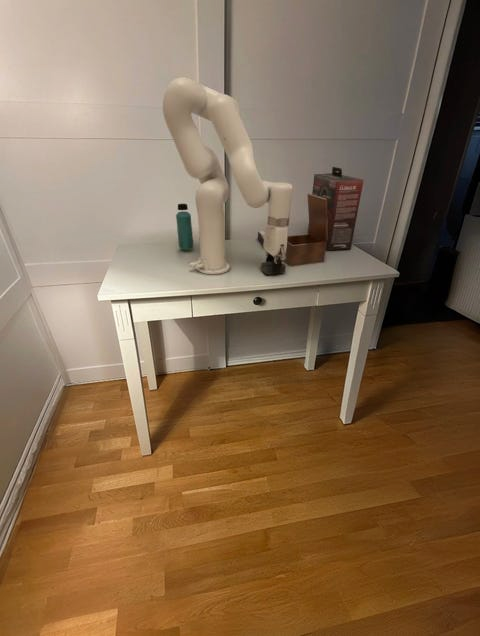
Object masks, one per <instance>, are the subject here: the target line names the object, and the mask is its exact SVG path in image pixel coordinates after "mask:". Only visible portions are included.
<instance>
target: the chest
mask: <svg viewBox="0 0 480 636" xmlns="http://www.w3.org/2000/svg"><path fill="white" fill-rule="evenodd" d="M326 245H327V242H326V241H324V240H322V239H320V238H318V237H316V236H314V235H312V234H308V233H305V234H294V235H287V248H286V253H285V255H286V259H285V260H284V261H283V263H285V264H287V265H288V266H290V267H295V266H303V265H309V264H316V263H317V264H318V263H324V262H325V258H326V252H327V250H326ZM278 255H280V253H278ZM277 258H280V256H278V257H277Z"/></svg>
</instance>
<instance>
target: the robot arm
mask: <svg viewBox="0 0 480 636" xmlns="http://www.w3.org/2000/svg"><path fill="white" fill-rule="evenodd" d="M162 113H163V118H164V121H165V124H166V126H167V129H168V132H169V133H170V136H171V138H172V140H173V142H174V145H175V148H176V150H177V153H178V155H179V157H180V160H181V161H182V164H183V166H184V169H185V171H186V173H187V174H188V175H189V176H190V177H191V178H193V179H196V180H197V179H198V181H199V183H200V185H198V187H197V189H196V191H195V197H194V198H195V207H196V212H197V222H198V235H199V237H198V238H199V253H200V256H199V257H198V258H197V260H196V261H192V262H189V263H188V266H189V268H190V269H192V268H195V269H196V270H197V271H198V272H199V273H202V274H205V275H220V274H224V273H226V272H228V271H229V270H230V266H231V265H230V264H229V263H228V262H227V261H226V217H225V209H224V208H225V207H224V204H225V203H226V202H227V201H228V199H229V196H230V188H229V184H228V181H227V179H226V175H225V173H224V170H223V168H222V166H221V163H220V160H219V158H218V156H217V154H216V153H215V151H214V150H213V149H212V148H211V147H209V146H206V145H204V142H203V139H202V137H201V135H200V132H199V130H198V129H199V128H198V127H197V125H196V124H195V121H194V120H193V117H192V114H193V115H195V116H198V117H200V118H203V119H205V120H207V121H209V122H211V124H212V126H213V128H214V131H215V132H216V134H217V137H218V139H219V141H220V143H221V145H222V148H223V150H224V152H225V154H226V157H227V159H228V163H229V166H230V169H231V172H232V175H233V177H234V181H235V183H236V185H237V187H238V189H239V192H240V194H241V196H242V198H243V200H244V202H245V203H246V204H247V206H248V207H251V208H253V209H259V208H261V207H263V206H264V205H265V204H266V203H267V204H268V205H267V221H266V227H265V230H264V231H265V236H264V245H262V248H263V250H265V256H266V257H265V262H269V261H275V263H273V272H272V273H273V274H272V275H275V274H282V273H281V267H282V263H283V264H284V260H285V259H286V255H285V253H286V248H287V236H288V228H289V225H290V224H289V223H290V215H291V209H292V199H293V192H294V187H293V185H292V184H291V183H288V182H283V181H281V182H280V181H278V182H273V181H268V180H264V179H261V176H260V174H259V171H258V168H257V165H256V162H255V159H254V150H253V149H254V148H253V143H252V141H251V139H250V137H249V134H248V132H247V130H246V127H245V125H244V122H243V120H242V118H241V110H240V105H239V103H238V102H237V101H236V99H235V98H233V97H232V96H230V95H228V94H225V93H221V92H219V91H216V90H215V89H212V88H210V87H208V86H206V85H204V84H202V83H200V82H198V81H195V80H193V79H191V78H188V77H185V76H181V77H176V78H174V79H173V80H171V81H170V83H169V84H168V85H167V87H166V89H165V92H164V94H163V99H162ZM278 253H280V255H278ZM278 256H280V258H279V257H278Z"/></svg>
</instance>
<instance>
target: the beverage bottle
mask: <svg viewBox="0 0 480 636" xmlns="http://www.w3.org/2000/svg"><path fill="white" fill-rule="evenodd" d="M188 207H189V206H188V204H187V203H178V204H177V210H178V212H177V213H176V215H175V218H176V230H177V232H176V233H177V239H178V240H177V241H178V247H179V250H184V251H185V250H186V251H187V250H192V249H193V248H194V238H193V226H192V225H193V224H192V214H191V213H190V212H189V211H187V210H189V208H188Z"/></svg>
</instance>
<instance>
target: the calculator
mask: <svg viewBox="0 0 480 636" xmlns="http://www.w3.org/2000/svg"><path fill="white" fill-rule="evenodd" d="M264 236H265V230H260V231H258V232H257V240H258V242H260V243H261V246H263V245H264Z"/></svg>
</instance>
